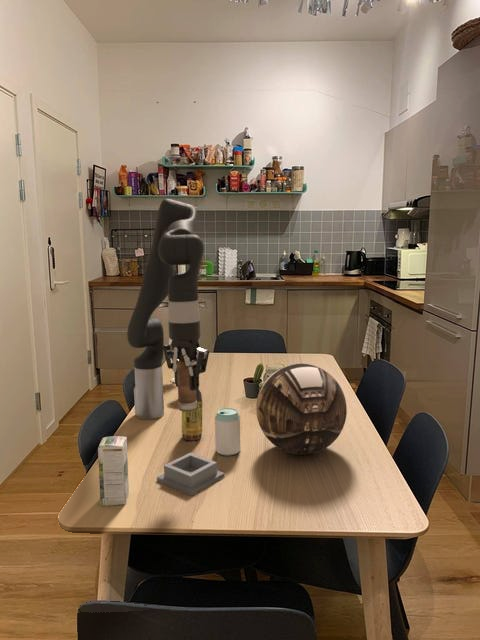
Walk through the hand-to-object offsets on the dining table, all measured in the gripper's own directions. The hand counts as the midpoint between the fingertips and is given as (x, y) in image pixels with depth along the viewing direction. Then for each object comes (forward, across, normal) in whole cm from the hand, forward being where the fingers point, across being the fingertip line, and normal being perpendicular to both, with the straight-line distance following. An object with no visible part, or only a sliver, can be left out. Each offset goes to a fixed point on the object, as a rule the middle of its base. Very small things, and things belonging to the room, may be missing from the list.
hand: (186, 387), depth 124 cm
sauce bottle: (+24, +18, -19) cm, 35 cm away
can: (+24, +3, -18) cm, 30 cm away
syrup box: (+24, +7, +18) cm, 31 cm away
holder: (+24, 0, 0) cm, 24 cm away
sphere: (+24, -13, -31) cm, 42 cm away
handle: (+5, 0, 0) cm, 5 cm away
